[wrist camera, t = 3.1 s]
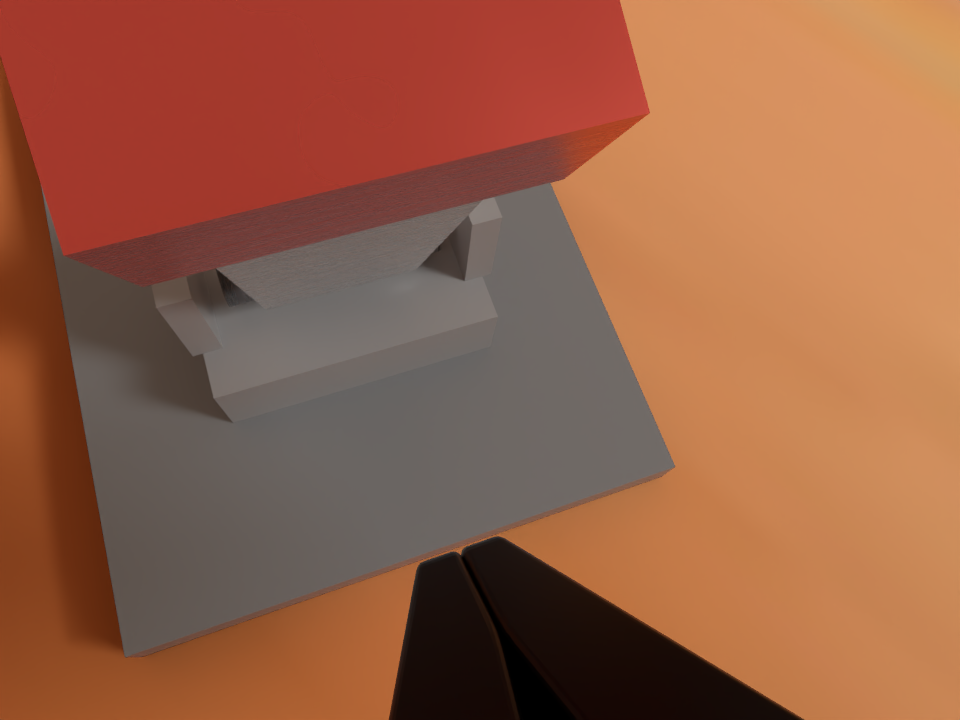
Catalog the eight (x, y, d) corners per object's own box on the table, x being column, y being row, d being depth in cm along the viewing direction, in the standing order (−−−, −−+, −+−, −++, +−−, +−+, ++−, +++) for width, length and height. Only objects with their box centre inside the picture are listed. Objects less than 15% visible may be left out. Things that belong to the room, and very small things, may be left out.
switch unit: (661, 476, 18) (748, 414, 13) (142, 657, 16) (25, 658, 11) (448, -17, 23) (456, -188, 18) (32, 64, 21) (-79, -107, 16)
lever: (443, 276, 16) (674, 106, 5) (240, 332, 15) (28, 262, 5) (417, 186, 16) (599, -172, 5) (210, 237, 15) (-75, -62, 4)
